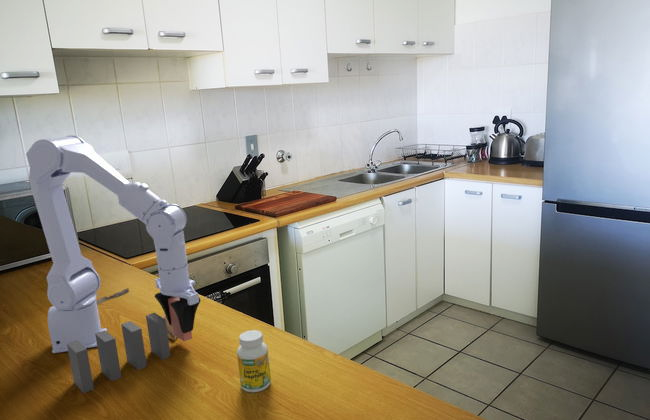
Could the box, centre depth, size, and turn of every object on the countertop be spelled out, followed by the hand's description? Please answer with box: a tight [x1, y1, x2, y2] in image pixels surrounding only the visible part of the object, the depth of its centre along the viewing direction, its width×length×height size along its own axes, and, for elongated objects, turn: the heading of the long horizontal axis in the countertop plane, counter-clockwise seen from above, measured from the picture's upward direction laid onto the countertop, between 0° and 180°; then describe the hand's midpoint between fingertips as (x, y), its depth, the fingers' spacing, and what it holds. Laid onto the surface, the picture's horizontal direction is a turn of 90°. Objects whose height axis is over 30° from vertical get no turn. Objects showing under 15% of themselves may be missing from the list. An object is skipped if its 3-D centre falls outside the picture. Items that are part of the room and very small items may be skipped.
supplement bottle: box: [236, 329, 272, 393], centre depth 87 cm, size 5×5×10 cm
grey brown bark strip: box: [96, 288, 130, 306], centre depth 130 cm, size 12×1×5 cm
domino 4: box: [145, 312, 171, 360], centre depth 100 cm, size 2×5×8 cm, turn 44°
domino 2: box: [95, 330, 122, 382], centre depth 93 cm, size 2×5×8 cm, turn 44°
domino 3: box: [121, 320, 148, 371], centre depth 96 cm, size 2×5×8 cm, turn 44°
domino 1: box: [67, 340, 95, 394], centre depth 89 cm, size 2×5×8 cm, turn 44°
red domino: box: [168, 297, 193, 342], centre depth 102 cm, size 2×5×8 cm, turn 44°
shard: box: [161, 314, 178, 341], centre depth 111 cm, size 11×8×2 cm
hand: (181, 327), depth 103 cm, fingers closed on red domino, 5 cm apart
